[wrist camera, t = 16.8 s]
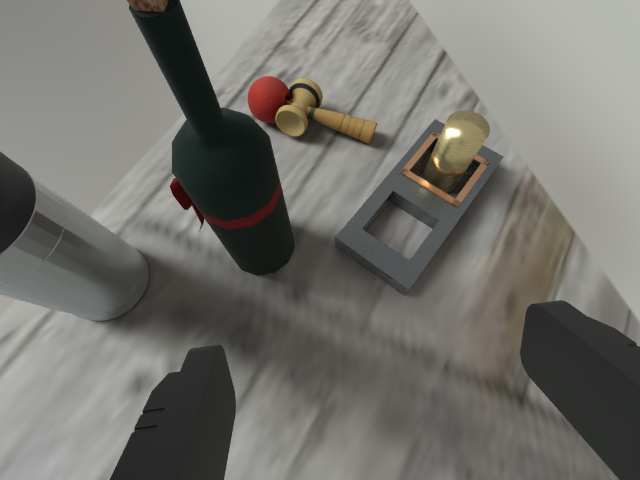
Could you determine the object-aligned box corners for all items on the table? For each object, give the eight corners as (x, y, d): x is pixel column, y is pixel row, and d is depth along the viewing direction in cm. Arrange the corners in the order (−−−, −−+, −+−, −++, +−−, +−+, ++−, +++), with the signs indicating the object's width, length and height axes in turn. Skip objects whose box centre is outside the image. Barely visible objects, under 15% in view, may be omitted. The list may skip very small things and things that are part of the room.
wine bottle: (219, 212, 44) (36, -85, 16) (298, 218, 43) (248, -79, 16) (205, 271, 41) (-49, 28, 13) (290, 278, 40) (212, 40, 13)
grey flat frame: (334, 245, 42) (335, 236, 39) (429, 131, 48) (435, 118, 46) (404, 295, 39) (409, 289, 37) (494, 168, 46) (504, 155, 43)
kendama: (376, 121, 51) (261, 82, 51) (386, 96, 45) (256, 52, 45) (361, 167, 49) (243, 127, 49) (369, 148, 43) (235, 102, 43)
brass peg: (415, 182, 45) (438, 130, 36) (433, 160, 46) (459, 104, 37) (445, 200, 44) (476, 151, 35) (462, 177, 45) (497, 123, 36)
